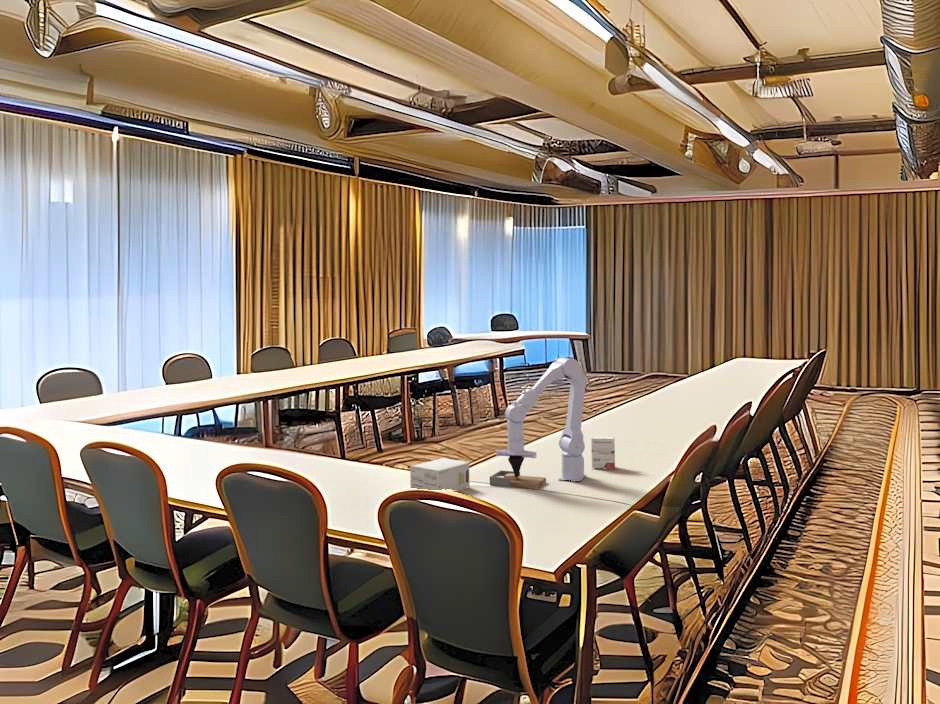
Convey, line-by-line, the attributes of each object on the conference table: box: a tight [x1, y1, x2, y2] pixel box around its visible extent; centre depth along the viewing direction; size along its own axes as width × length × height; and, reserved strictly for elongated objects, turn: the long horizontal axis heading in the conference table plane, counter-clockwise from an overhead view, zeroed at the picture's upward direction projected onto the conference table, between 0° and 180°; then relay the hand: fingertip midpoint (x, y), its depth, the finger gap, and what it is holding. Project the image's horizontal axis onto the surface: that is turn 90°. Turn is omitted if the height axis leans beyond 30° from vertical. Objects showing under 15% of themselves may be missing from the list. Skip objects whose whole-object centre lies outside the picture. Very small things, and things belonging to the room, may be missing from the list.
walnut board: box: [509, 475, 547, 490], centre depth 301 cm, size 10×10×2 cm
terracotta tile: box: [504, 473, 519, 480], centre depth 303 cm, size 4×4×2 cm
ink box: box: [590, 436, 616, 470], centre depth 325 cm, size 9×5×12 cm, turn 77°
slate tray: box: [489, 470, 521, 488], centre depth 305 cm, size 10×8×3 cm
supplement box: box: [409, 457, 471, 492], centre depth 296 cm, size 17×13×9 cm
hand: (516, 476), depth 302 cm, fingers closed, pressing on terracotta tile
